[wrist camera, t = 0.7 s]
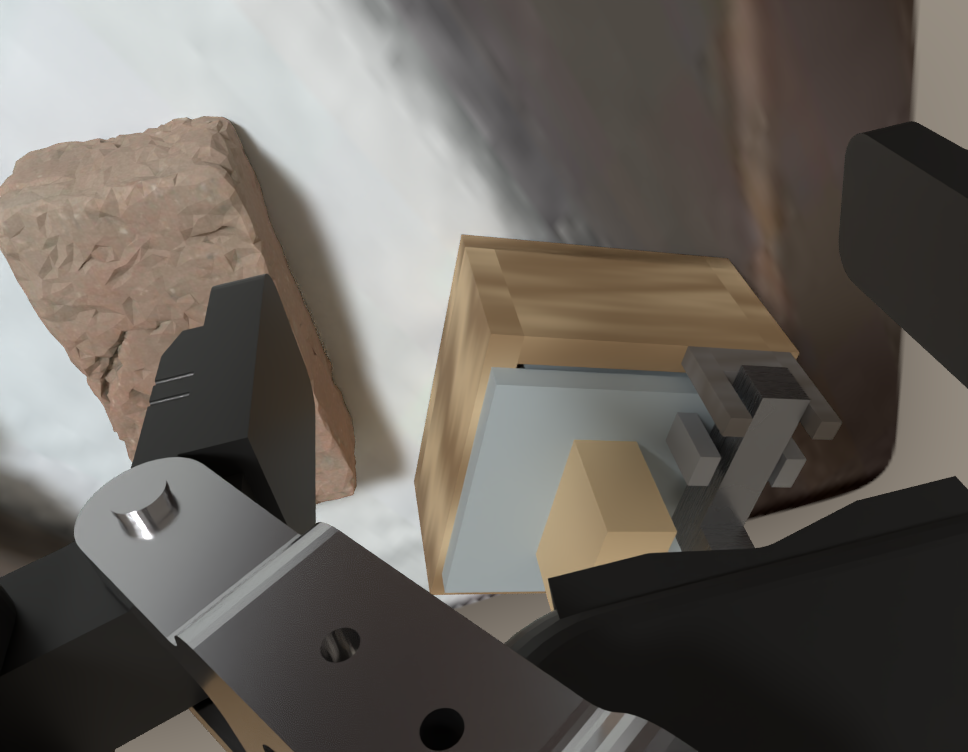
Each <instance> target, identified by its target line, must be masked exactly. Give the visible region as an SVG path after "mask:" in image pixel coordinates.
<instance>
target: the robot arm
mask: <svg viewBox="0 0 968 752" xmlns="http://www.w3.org/2000/svg"><path fill="white" fill-rule="evenodd" d="M839 252H840V257H841V261H842V264H843V267H844V269H845V272H846V273H847V275H848V277H849V278H850V280H851V281H852V282H853V283H854V284H855V285H856V286H857V287H858V288H859V289H860V290H861V291H863V292H864V293H865V294H866V295H867V296H868V297H869V298H870V299H871V300H872V301H873V302H874V303H876V304H877V305H878V306H879V307H880V308H881V309H882V310H883V311H884V312H885V313H886V314H887V315H889V316H890V317H891V318H892V319H893V320H894V321H895V322H896V323H897V324H898V325H899V326H900V327H902V328H903V329H904V330H905V331H906V332H907V333H908V334H909V335H910V336H911V337H912V338H913V339H915V340H916V341H917V342H918V343H919V344H920V345H921V346H922V347H923V348H924V349H925V350H927V351H928V352H929V353H930V354H931V355H932V356H933V357H934V358H935V359H936V360H937V361H938V362H940V363H941V364H942V365H943V366H944V367H945V368H946V369H947V370H948V371H949V372H950V373H951V374H953V375H954V376H955V377H956V378H957V379H958V380H959V381H960V382H961V383H962V384H963V385H965V386H966V387H967V388H968V150H966V149H964V148H962V147H960V146H958V145H957V144H955V143H953V142H951V141H949V140H947V139H946V138H944V137H942V136H940V135H939V134H937V133H935V132H933V131H932V130H930V129H928V128H926V127H924V126H923V125H921V124H919V123H917V122H912V121H911V122H906V123H902V124H898V125H893V126H889V127H885V128H881V129H877V130H872V131H868V132H864V133H860V134H857V135H855V136H854V137H853V138H852V139H851V140H850V142H849V144H848V146H847V150H846V155H845V165H844V177H843V190H842V203H841V216H840V228H839ZM155 384H156V385H155V386H153V389H152V392H151V396H150V400H149V403H150V406H148V407H147V411H146V414H145V418H144V422H143V426H142V429H141V433H140V437H139V440H138V444H137V448H136V451H135V455H134V459H133V463H132V466H131V469H129V470H127V471H125V472H123V473H121V474H120V475H118V476H116V477H115V478H113V479H112V480H110V481H109V482H108V483H106V484H105V485H103V486H102V487H101V488H100V489H99V490H98V491H97V492H95V493H94V495H93V496H92V497H91V498H90V499H89V500H88V501H87V502H86V504H85V505H84V507H83V508H82V509H81V511H80V513H79V515H78V517H77V519H76V523H75V527H74V537H75V541H74V542H72V543H71V544H69V545H67V546H65V547H63V548H61V549H59V550H58V551H56V552H54V553H51V554H49V555H47V556H45V557H43V558H41V559H39V560H37V561H34V562H32V563H30V564H28V565H26V566H24V567H22V568H20V569H18V570H15V571H13V572H11V573H9V574H7V575H5V576H3V577H1V578H0V752H115V749H116V748H118V747H120V746H122V745H124V744H125V743H127V742H129V741H131V740H133V739H135V738H136V737H138V736H140V735H142V734H144V733H145V732H147V731H149V730H151V729H153V728H154V727H156V726H158V725H160V724H162V723H163V722H165V721H167V720H169V719H171V718H172V717H174V716H176V715H178V714H180V713H181V712H183V711H185V710H187V709H189V710H190V712H191V713H192V714H193V715H194V716H195V717H196V718H197V720H198V721H199V722H200V723H201V724H202V725H203V726H204V727H205V729H206V730H207V731H208V732H209V733H210V734H211V735H212V736H213V737H214V738H215V739H216V741H217V742H218V743H219V744H220V745H221V746H222V747H223V748H224V750H225V751H226V752H968V489H967V488H966V487H965V486H964V485H963V484H962V483H961V482H960V481H959V479H957V477H956V476H954V477H950V478H946V479H942V480H938V481H934V482H930V483H926V484H922V485H918V486H914V487H910V488H906V489H902V490H898V491H894V492H890V493H886V494H882V495H878V496H874V497H870V498H866V499H862V500H858V501H855V502H853V503H851V504H849V505H848V506H846V507H844V508H842V509H840V510H838V511H836V512H834V513H832V514H830V515H828V516H827V517H824V518H822V519H820V520H818V521H817V522H815V523H813V524H811V525H809V526H807V527H805V528H803V529H801V530H799V531H797V532H795V533H793V534H791V535H790V536H787V537H786V538H784V539H782V540H780V541H778V542H776V543H774V544H771V545H769V546H765V547H761V548H752V549H729V550H707V551H684V552H661V553H647V554H643V555H639V556H635V557H631V558H627V559H623V560H619V561H615V562H611V563H607V564H603V565H599V566H595V567H591V568H587V569H583V570H579V571H575V572H571V573H567V574H563V575H559V576H555V577H551V578H548V583H549V588H550V593H551V598H552V603H553V608H554V611H552V612H550V613H548V614H546V615H544V616H543V617H541V618H539V619H537V620H535V621H534V622H532V623H531V624H529V625H528V626H526V627H525V628H523V629H522V630H520V631H519V632H517V633H516V634H515V635H514V636H512V637H511V638H510V639H509V640H508V641H507V642H505V643H504V644H503V643H502V642H500V641H499V640H497V639H496V638H495V637H493V636H491V635H490V634H489V633H487V632H486V631H484V630H483V629H481V628H480V627H479V626H477V625H476V624H474V623H473V622H471V621H470V620H468V619H467V618H465V617H464V616H463V615H461V614H459V613H458V612H457V611H455V610H454V609H452V608H451V607H450V606H448V605H447V604H445V603H444V602H442V601H441V600H439V599H438V598H437V597H435V596H434V595H432V594H431V593H429V592H428V591H426V590H425V589H423V588H422V587H421V586H419V585H418V584H416V583H415V582H413V581H412V580H410V579H409V578H407V577H406V576H405V575H403V574H402V573H400V572H399V571H397V570H396V569H394V568H393V567H392V566H390V565H389V564H387V563H386V562H384V561H383V560H381V559H380V558H378V557H377V556H376V555H374V554H373V553H371V552H370V551H368V550H367V549H365V548H364V547H362V546H361V545H360V544H358V543H357V542H355V541H354V540H352V539H351V538H349V537H348V536H347V535H345V534H344V533H342V532H341V531H339V530H338V529H336V528H334V527H333V526H331V525H329V524H326V523H322V522H318V523H316V460H315V402H314V396H313V390H312V386H311V382H310V378H309V375H308V372H307V369H306V366H305V363H304V360H303V358H302V355H301V352H300V350H299V347H298V344H297V342H296V339H295V336H294V334H293V331H292V328H291V325H290V323H289V320H288V317H287V315H286V312H285V309H284V307H283V304H282V301H281V299H280V296H279V293H278V291H277V288H276V286H275V284H274V282H273V280H272V278H271V277H270V275H269V274H267V273H266V274H262V275H258V276H254V277H249V278H245V279H241V280H237V281H233V282H228V283H224V284H220V285H216V286H213V287H212V288H211V292H210V297H209V302H208V306H207V311H206V316H205V321H204V326H200V327H196V328H192V329H188V330H184V331H182V332H181V333H180V334H179V336H178V337H177V338H176V339H175V340H174V342H173V343H172V344H171V345H170V346H169V347H168V349H167V350H166V351H165V352H164V353H163V355H162V356H161V359H160V363H159V366H158V370H157V374H156V377H155Z"/></svg>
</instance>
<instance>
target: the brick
mask: <svg viewBox="0 0 968 752" xmlns="http://www.w3.org/2000/svg"><path fill="white" fill-rule="evenodd" d="M0 250H1V251H2V253H3V255H4V256H5V258H6V259H7V261H8V263H9V265H10V267H11V269H12V271H13V273H14V275H15V277H16V279H17V281H18V283H19V284H20V286H21V287H22V289H23V290H24V292H25V294H26V295H27V297H28V299H29V301H30V303H31V305H32V306H33V308H34V310H35V311H36V313H37V315H38V316H39V318H40V319H41V321H42V322H43V323H44V325H45V326H46V328H47V329H48V330H49V332H50V333H51V334H52V335H53V336H54V337H55V338H56V339H57V340H58V341H59V342H60V343H61V345H62V346H63V347H64V348H65V350H66V352H67V354H68V356H69V358H70V360H71V362H72V363H73V364H74V365H75V366H76V367H77V368H78V369H79V370H80V371H81V372H82V373H83V374H85V375H86V376H87V383H88V385H89V386H90V388H91V389H92V391H93V393H94V394H95V395H96V396H97V397H98V398H99V400H100V401H101V403H102V404H103V406H104V408H105V410H106V413H107V415H108V417H109V420H110V422H111V424H112V426H113V430H114V432H117V433H118V436H119V439H120V440H122V441H125V444H126V448H127V452H128V456H129V459H130V460H131V461H132V462H133V459H134V455H135V451H136V448H137V444H138V440H139V437H140V433H141V429H142V426H143V422H144V418H145V414H146V411H147V407H148V406H150V403H149V400H150V396H151V392H152V389H153V386H155V385H156V384H155V377H156V374H157V370H158V366H159V363H160V359H161V356H162V355H163V353H164V352H165V351H166V350H167V349H168V347H169V346H170V345H171V344H172V343H173V342H174V340H175V339H176V338H177V337H178V336H179V334H180V333H181V332H182V331H184V330H188V329H192V328H196V327H200V326H204V321H205V316H206V311H207V306H208V302H209V297H210V292H211V288H212V287H213V286H216V285H220V284H224V283H228V282H233V281H237V280H241V279H245V278H249V277H254V276H258V275H262V274H266V273H267V274H269V275H270V277H271V278H272V280H273V282H274V284H275V286H276V288H277V291H278V293H279V296H280V299H281V301H282V304H283V307H284V309H285V312H286V315H287V317H288V320H289V323H290V325H291V328H292V331H293V334H294V336H295V339H296V342H297V344H298V347H299V350H300V352H301V355H302V358H303V360H304V363H305V366H306V369H307V372H308V375H309V378H310V382H311V386H312V390H313V396H314V402H315V460H316V504H318V503H321V502H324V501H329V500H335V499H339V498H343V497H347V496H351V495H353V494H354V491H355V488H356V486H357V484H356V469H355V465H356V460H355V456H354V448H355V436H354V431H353V424H352V419H351V416H350V414H349V412H348V410H347V408H346V406H345V403H344V400H343V397H342V393H341V391H340V390H339V389H338V388H337V387H336V386H335V385H334V383H333V379H332V374H331V373H332V366H331V362H330V361H329V359H328V358H327V356H326V355H325V353H324V350H323V347H322V345H321V342H320V340H319V337H318V335H317V332H316V329H315V327H314V325H313V323H312V320H311V316H310V314H309V311H308V310H307V308H306V307H305V305H304V302H303V299H302V296H301V293H300V291H299V289H298V287H297V285H296V283H295V280H294V278H293V276H292V274H291V272H290V270H289V267H288V264H287V261H286V259H285V256H284V254H283V250H282V246H281V244H280V243H279V241H278V239H277V237H276V235H275V232H274V230H273V228H272V225H271V223H270V220H269V217H268V213H267V209H266V206H265V203H264V199H263V195H262V191H261V187H260V184H259V181H258V179H257V177H256V174H255V172H254V170H253V168H252V167H251V165H250V163H249V161H248V158H247V156H246V154H245V152H244V149H243V145H242V143H241V141H240V139H239V137H238V135H237V133H236V130H235V128H234V127H233V125H232V124H231V123H230V121H228V120H227V119H225V118H224V117H209V116H203V117H200V118H197V119H193V120H192V119H188V118H178V119H173V120H172V121H170V122H168V123H167V124H165V125H160V126H159V127H158V128H150V129H147V130H146V131H145V132H143V133H134V134H130V135H119V136H117V137H116V138H109V139H108V140H103V139H100V138H99V139H93V140H89V141H86V142H77V141H75V142H64V143H58V144H55V145H52V146H50V147H47V148H44V149H40V150H35V151H31V152H29V153H27V154H26V155H24V156H23V157H22V158H20V159H19V160H17V161H16V163H15V167H14V170H13V174H12V175H11V176H9V177H8V178H7V179H6V180H5V182H4V183H3V184H2V185H1V187H0Z"/></svg>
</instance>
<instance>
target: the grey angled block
mask: <svg viewBox="0 0 968 752" xmlns="http://www.w3.org/2000/svg"><path fill="white" fill-rule="evenodd" d="M732 386H733V388H734V390H735V391H736V393H737V394H738V396H739V397H740V399H741V401H742V402H743V404H744V405H745V407H746V409H747V410H748V412H749V413H750V415H751V417H752V418H753V420H752V422H751V424H750V426H749V428H748V430H747V432H746V434H745V436H744V437H729V436H722V435H721V433H720V431H719V429H718V428H717V426H716V424H714V426H713V428H712V431H711V433H710V435H709V436H710V438H711V439H712V441H713V443H714V445H715V447H716V449H717V450H718V452H719V454H720V456H721V459H720V462H719V464H718V466H717V468H716V470H715V472H714V474H713V476H712V478H711V480H710V482H709V485H708V486H688V485H686V487H685V490H684V492H683V494H682V496H681V498H680V500H679V503H678V505H677V507H676V509H675V511H674V514H673V516H672V518H671V519H672V521H673V524H674V526H675V528H676V530H677V533H676V536H675V537H676V540H677V542H678V544H679V546H680V549H681V551H682V552H684V551H707V550H729V549H752V548H755V547H754V545H753V544H752V542H751V540H750V538H749V536H748V534H747V532H746V530H745V528H744V527H743V526H744V524H745V522H746V520H747V518H748V517H749V515H750V513H751V511H752V509H753V507H754V505H755V504H756V502H757V500H758V498H759V496H760V494H761V492H762V490H763V489H764V487H765V485H766V483H767V481H768V479H769V477H770V475H771V474H772V472H773V470H774V468H775V466H776V464H777V462H778V460H779V459H780V457H781V455H782V453H783V451H784V449H785V447H786V445H787V444H788V442H789V440H790V438H791V436H792V434H793V432H794V430H795V429H796V427H797V425H798V423H799V421H800V419H801V417H802V415H803V414H804V412H805V410H806V408H807V406H808V404H809V402H810V401H811V400H810V398H809V397H808V396H807V394H806V393H805V392H804V390H803V389H802V387H801V386H800V385H799V383H798V382H797V381H796V379H795V378H794V376H793V375H792V374H791V372H790V371H789V370H788V368H785V367H767V366H749V365H741V367H740V369H739V371H738V374H737V376H736V378H735V380H734V382H733V385H732Z"/></svg>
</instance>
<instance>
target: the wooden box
mask: <svg viewBox="0 0 968 752" xmlns="http://www.w3.org/2000/svg"><path fill="white" fill-rule="evenodd" d="M798 355H799V352H798V350H797V349H796V348H795V346H794V345H793V344H792V342H791V341H790V340H789V338H788V337H787V336H786V334H785V333H784V332H783V330H782V329H781V328H780V327H779V325H778V324H777V323H776V321H775V320H774V319H773V317H772V316H771V315H770V313H769V312H768V311H767V309H766V308H765V307H764V305H763V304H762V303H761V302H760V300H759V299H758V298H757V296H756V295H755V294H754V292H753V291H752V290H751V288H750V287H749V286H748V284H747V283H746V282H745V281H744V279H743V278H742V277H741V275H740V274H739V273H738V271H737V270H736V269H735V267H734V266H733V265H732V263H731V262H730V261H729V259H728V258H717V257H706V256H695V255H684V254H672V253H661V252H650V251H639V250H628V249H617V248H606V247H595V246H583V245H572V244H561V243H550V242H539V241H528V240H517V239H505V238H494V237H483V236H472V235H461V240H460V245H459V250H458V256H457V261H456V266H455V271H454V276H453V282H452V287H451V292H450V297H449V302H448V308H447V313H446V318H445V323H444V328H443V334H442V339H441V344H440V349H439V355H438V360H437V365H436V370H435V375H434V381H433V386H432V391H431V396H430V401H429V407H428V412H427V417H426V422H425V427H424V433H423V438H422V443H421V448H420V454H419V459H418V464H417V469H416V474H415V480H414V484H415V491H416V498H417V505H418V512H419V520H420V527H421V534H422V541H423V548H424V555H425V562H426V569H427V576H428V583H429V590H430V593H431V594H432V595H452V594H507V593H508V594H509V593H510V594H513V593H546V591H535V592H470V593H445V591H444V585H443V578H442V571H443V567H444V563H445V559H446V555H447V550H448V546H449V542H450V538H451V534H452V530H453V525H454V521H455V517H456V513H457V509H458V505H459V500H460V496H461V492H462V488H463V484H464V480H465V475H466V471H467V467H468V463H469V459H470V455H471V451H472V446H473V442H474V438H475V434H476V430H477V426H478V421H479V417H480V413H481V409H482V405H483V401H484V396H485V392H486V388H487V384H488V380H489V376H490V371H491V367H501V368H520V365H521V364H531V365H550V366H569V367H588V368H607V369H626V370H645V371H664V372H683V373H687V375H688V377H689V378H690V380H691V382H692V384H693V386H694V387H695V389H696V391H697V393H698V394H699V396H700V398H701V400H702V401H703V403H704V405H705V407H706V408H707V410H708V412H709V414H710V415H711V417H712V419H713V421H714V422H715V424H716V426H717V428H718V429H719V431H720V433H721V435H722V436H729V437H744V436H745V434H746V432H747V430H748V428H749V426H750V424H751V422H752V420H753V418H752V417H751V415H750V413H749V412H748V410H747V409H746V407H745V405H744V404H743V402H742V401H741V399H740V397H739V396H738V394H737V393H736V391H735V390H734V388H733V386H732V385H733V382H734V380H735V378H736V376H737V374H738V371H739V369H740V367H741V365H749V366H767V367H785V368H788V370H789V371H790V372H791V374H792V375H793V376H794V378H795V379H796V381H797V382H798V383H799V385H800V386H801V387H802V389H803V390H804V392H805V393H806V394H807V396H808V397H809V398H810V400H811V401H810V402H809V404H808V406H807V408H806V410H805V412H804V414H803V415H802V417H801V419H800V423H801V424H802V425H803V427H804V428H805V430H806V431H807V433H808V434H809V436H810V437H811V438H812V439H819V440H833V438H834V436H835V434H836V433H837V431H838V429H839V428H840V426H841V424H842V421H841V420H840V418H839V417H838V416H837V414H836V413H835V412H834V410H833V409H832V408H831V406H830V405H829V404H828V402H827V401H826V400H825V398H824V397H823V396H822V394H821V393H820V392H819V390H818V389H817V388H816V386H815V385H814V384H813V382H812V381H811V380H810V378H809V377H808V376H807V374H806V373H805V372H804V370H803V369H802V367H801V366H800V365H799V363H798V362H797V361H796V359H797V357H798Z"/></svg>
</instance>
